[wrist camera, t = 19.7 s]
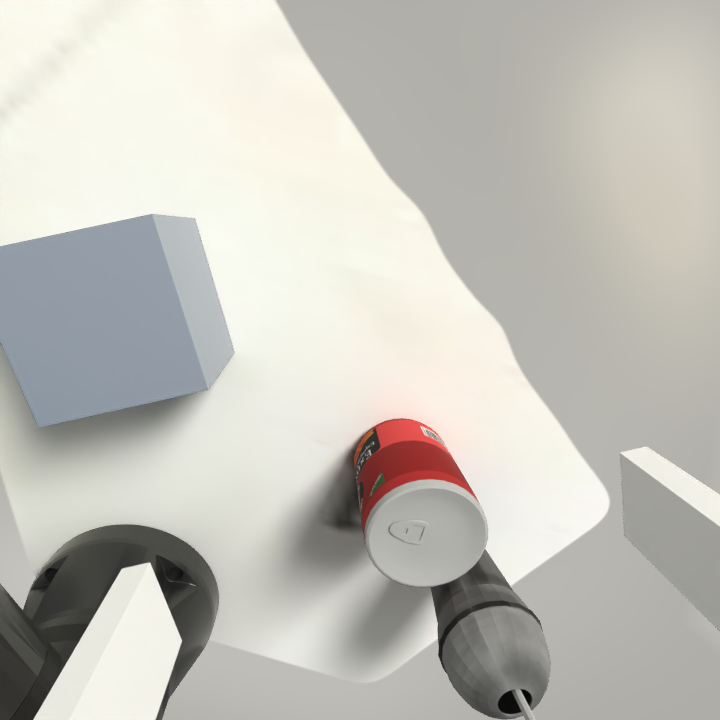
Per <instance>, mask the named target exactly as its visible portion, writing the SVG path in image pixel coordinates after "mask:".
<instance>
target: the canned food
mask: <svg viewBox="0 0 720 720" xmlns="http://www.w3.org/2000/svg"><path fill="white" fill-rule="evenodd" d="M354 469H355V476H356V484H357V491H358V498H359V506H360V513H361V520H362V528H363V533H364V539H365V544H366V547H367V551H368V553H369V557H370V559H371V560H372V562H373V564H374V565H375V567H376V568H377V569H378V570H379V571H380V572H381V573H382V574H383V575H385V576H386V577H388V578H389V579H391V580H393V581H395V582H397V583H400V584H403V585H407V586H411V587H433V586H438V585H442V584H446V583H448V582H451V581H453V580H455V579H457V578H459V577H460V576H462V575H464V574H465V573H467V572H468V571H469V570H470V569H471V568H472V567H473V566H474V565H475V564H476V563H477V561H478V560H479V559H480V558H481V556H482V554H483V552H484V550H485V547H486V543H487V540H488V525H487V520H486V517H485V515H484V512H483V510H482V508H481V506H480V504H479V502H478V500H477V498H476V496H475V494H474V493H473V491H472V489H471V488H470V486H469V484H468V483H467V481H466V479H465V478H464V476H463V474H462V473H461V471H460V469H459V468H458V466H457V464H456V463H455V461H454V459H453V458H452V456H451V454H450V453H449V451H448V449H447V447H446V446H445V444H444V442H443V441H442V439H441V438H440V437H439V435H438V434H437V433H436V432H435V431H433V430H432V429H431V428H430V427H428V426H426V425H424V424H422V423H420V422H417V421H414V420H410V419H392V420H388V421H384V422H382V423H380V424H378V425H376V426H375V427H373V428H372V429H370V430H369V431H368V432H367V433H366V434H365V435H364V437H363V438H362V440H361V441H360V443H359V445H358V447H357V450H356V452H355V458H354Z"/></svg>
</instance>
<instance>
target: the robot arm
mask: <svg viewBox="0 0 720 720" xmlns="http://www.w3.org/2000/svg"><path fill="white" fill-rule="evenodd" d="M620 465H621V485H622V502H623V503H622V504H623V523H624V536H625V537H626V538H627V539H628V540H629V541H630V542H631V543H632V544H633V545H634V546H635V547H636V548H637V549H638V550H639V551H640V552H641V553H642V554H643V555H644V556H645V557H646V558H647V559H648V560H649V561H650V562H651V563H652V564H653V565H654V566H655V567H656V568H657V569H658V570H659V571H660V572H661V573H662V574H663V575H664V576H665V577H666V578H667V579H668V580H669V581H670V582H671V583H672V584H673V585H674V586H675V587H676V588H677V589H678V590H679V591H680V592H681V593H682V594H683V595H684V596H685V597H686V598H687V599H688V600H689V601H690V602H691V603H692V604H693V605H694V606H695V607H696V608H697V609H698V610H699V611H700V612H701V613H702V614H703V615H704V616H705V617H706V618H707V619H708V620H709V621H710V622H711V623H712V624H713V625H714V626H715V627H716V628H717V629H718V630H719V631H720V495H719V494H718V493H716V492H715V491H713V490H712V489H710V488H708V487H707V486H706V485H704V484H703V483H701V482H700V481H698V480H697V479H695V478H693V477H692V476H690V475H689V474H687V473H686V472H684V471H683V470H681V469H680V468H678V467H677V466H675V465H674V464H672V463H671V462H669V461H668V460H666V459H665V458H663V457H662V456H660V455H658V454H657V453H656V452H654V451H653V450H651V449H650V448H648V447H642V448H638V449H634V450H629V451H625V452H621V453H620ZM218 603H219V594H218V587H217V583H216V580H215V577H214V575H213V573H212V571H211V569H210V567H209V566H208V564H207V563H206V561H205V560H204V559H203V558H202V556H201V555H200V554H199V553H198V552H197V551H196V550H194V549H193V548H192V547H191V546H190V545H188V544H187V543H185V542H184V541H182V540H181V539H179V538H177V537H175V536H173V535H171V534H169V533H166V532H164V531H161V530H158V529H154V528H150V527H146V526H139V525H111V526H105V527H100V528H96V529H93V530H90V531H87V532H85V533H82V534H80V535H78V536H76V537H75V538H73V539H71V540H70V541H68V542H67V543H66V544H64V545H63V546H62V547H61V548H60V549H59V550H58V551H57V552H56V553H55V554H54V555H53V557H52V558H51V559H50V560H49V561H48V563H47V564H46V565H45V566H44V568H43V569H42V570H41V571H40V573H39V574H38V576H37V577H36V579H35V581H34V583H33V584H32V587H31V589H30V591H29V594H28V597H27V600H26V603H25V606H24V609H23V610H22V609H21V608H20V607H19V606H18V604H17V603H16V602H15V601H14V600H13V598H12V597H11V596H10V595H9V594H8V593H7V591H6V590H5V589H4V587H3V586H2V585H1V584H0V720H162V718H163V714H164V711H165V708H166V705H167V702H168V700H169V698H170V696H171V695H172V693H173V692H174V691H175V689H176V688H177V686H178V685H179V683H180V682H181V681H182V679H183V678H184V676H185V675H186V674H187V672H188V671H189V669H190V668H191V667H192V665H193V664H194V662H195V661H196V659H197V658H198V656H199V655H200V654H201V652H202V651H203V649H204V648H205V646H206V644H207V642H208V640H209V637H210V635H211V632H212V629H213V625H214V622H215V618H216V614H217V610H218Z"/></svg>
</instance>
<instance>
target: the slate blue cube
mask: <svg viewBox="0 0 720 720" xmlns="http://www.w3.org/2000/svg"><path fill="white" fill-rule="evenodd" d="M0 342H1V344H2V347H3V349H4V351H5V353H6V356H7V358H8V360H9V362H10V365H11V367H12V369H13V371H14V374H15V376H16V378H17V380H18V383H19V385H20V387H21V389H22V392H23V394H24V396H25V398H26V401H27V403H28V405H29V407H30V410H31V412H32V414H33V416H34V419H35V421H36V423H37V425H38V428H40V427H44V426H49V425H53V424H58V423H62V422H67V421H71V420H76V419H80V418H85V417H89V416H94V415H98V414H103V413H107V412H112V411H116V410H120V409H125V408H129V407H134V406H138V405H143V404H147V403H152V402H156V401H161V400H165V399H170V398H174V397H179V396H183V395H188V394H192V393H197V392H201V391H205V390H209V388H210V387H211V385H212V384H213V383H214V381H215V380H216V378H217V377H218V375H219V374H220V373H221V371H222V370H223V368H224V367H225V365H226V364H227V363H228V361H229V360H230V358H231V357H232V356H233V354H234V353H235V352H234V349H233V345H232V342H231V339H230V335H229V332H228V329H227V325H226V322H225V318H224V315H223V312H222V308H221V305H220V302H219V298H218V295H217V291H216V288H215V285H214V281H213V278H212V275H211V271H210V268H209V264H208V261H207V258H206V254H205V251H204V248H203V244H202V241H201V237H200V234H199V231H198V227H197V224H196V221H195V218H186V217H176V216H166V215H156V214H150V215H145V216H141V217H136V218H131V219H127V220H122V221H117V222H112V223H108V224H103V225H98V226H94V227H89V228H84V229H80V230H75V231H70V232H66V233H61V234H56V235H52V236H47V237H42V238H38V239H33V240H28V241H24V242H19V243H14V244H10V245H5V246H0Z"/></svg>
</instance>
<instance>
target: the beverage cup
mask: <svg viewBox="0 0 720 720" xmlns="http://www.w3.org/2000/svg"><path fill="white" fill-rule="evenodd" d="M431 591H432V596H433V601H434V606H435V612H436V617H437V622H438V644H439V658H440V661H441V664H442V666H443V668H444V670H445V672H446V673H447V674H448V677H449V680H450V682H451V683H452V685H453V687H454V688H455V689H456V691H457V692H458V693H459V695H460V696H461V697H462V698H463V699H464V700H465V701H466V702H467V703H468V704H469V705H470V706H471V707H472V708H474V709H476V710H477V711H479V712H481V713H483V714H485V715H487V716H489V717H493V718H498V719H514V718H517V717H520V716H523V715H524V717H525V719H526V720H536V719H535V717H534V715H533V713H532V710H533V709H534V708H535V707H536V706H537V705H538V704H539V702H540V701H541V699H542V697H543V695H544V693H545V691H546V690H547V686H548V682H549V676H550V665H551V663H550V655H549V651H548V647H547V644H546V640H545V637H544V634H543V631H542V627H541V623H540V621H539V620H538V618H537V617H536V616H535V615H534V613H533V612H532V611H531V610H529V609H528V608H527V606H526V605H525V604H524V602H523V601H522V600H521V599H520V598H519V597H518V595H517V594H516V593H515V592H513V590H512V588H511V587H510V585H509V584H508V582H507V581H506V579H505V578H504V576H503V575H502V573H501V572H500V571H499V569H498V568H497V566H496V565H495V563H494V562H493V560H492V559H491V557H490V556H489V554H488V553H487V551H486V550H484V552H483V554H482V556H481V558H480V559H479V560H478V561H477V563H476V564H475V565H474V566H473V567H472V568H471V569H470V570H469V571H468V572H467V573H465V574H464V575H462V576H460V577H459V578H457V579H455V580H453V581H451V582H448V583H446V584H442V585H438V586H433V587H431Z"/></svg>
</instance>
